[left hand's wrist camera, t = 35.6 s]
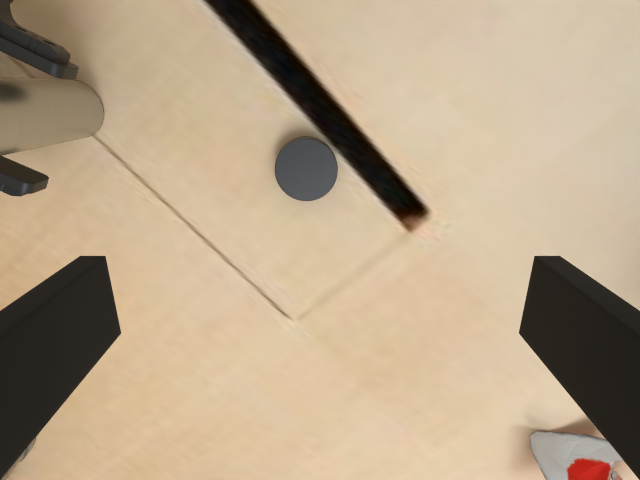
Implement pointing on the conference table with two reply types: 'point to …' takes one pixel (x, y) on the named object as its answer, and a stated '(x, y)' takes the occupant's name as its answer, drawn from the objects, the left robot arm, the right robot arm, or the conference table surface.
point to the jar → (46, 112)
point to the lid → (306, 168)
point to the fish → (573, 456)
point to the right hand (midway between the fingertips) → (54, 131)
